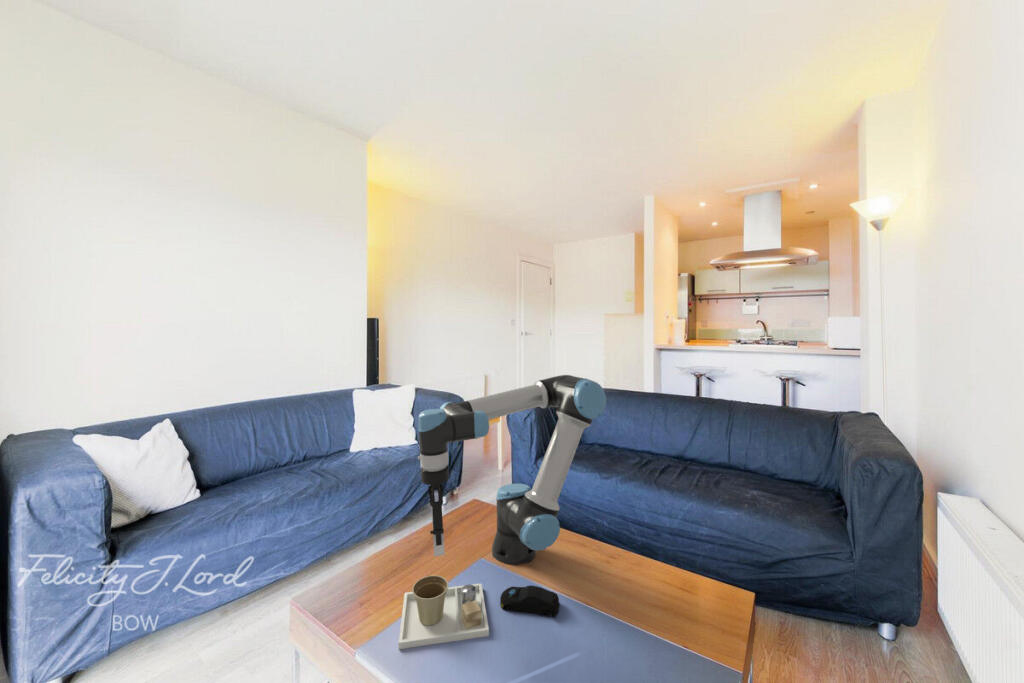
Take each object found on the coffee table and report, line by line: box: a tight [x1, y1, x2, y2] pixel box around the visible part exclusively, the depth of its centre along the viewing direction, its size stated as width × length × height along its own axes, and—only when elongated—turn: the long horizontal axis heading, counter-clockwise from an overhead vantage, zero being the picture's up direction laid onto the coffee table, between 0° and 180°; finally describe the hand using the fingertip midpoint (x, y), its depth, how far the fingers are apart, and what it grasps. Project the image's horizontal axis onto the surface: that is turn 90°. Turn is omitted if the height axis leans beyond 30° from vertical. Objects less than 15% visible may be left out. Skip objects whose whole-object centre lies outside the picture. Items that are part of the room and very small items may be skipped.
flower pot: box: [411, 574, 449, 626], centre depth 107 cm, size 9×9×9 cm
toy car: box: [499, 585, 560, 618], centre depth 112 cm, size 8×17×5 cm, turn 78°
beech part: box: [461, 600, 481, 630], centre depth 106 cm, size 4×4×4 cm
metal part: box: [461, 584, 476, 604], centre depth 113 cm, size 4×4×4 cm
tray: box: [397, 582, 490, 650], centre depth 108 cm, size 22×18×2 cm
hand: (438, 540), depth 112 cm, fingers open, 13 cm apart
